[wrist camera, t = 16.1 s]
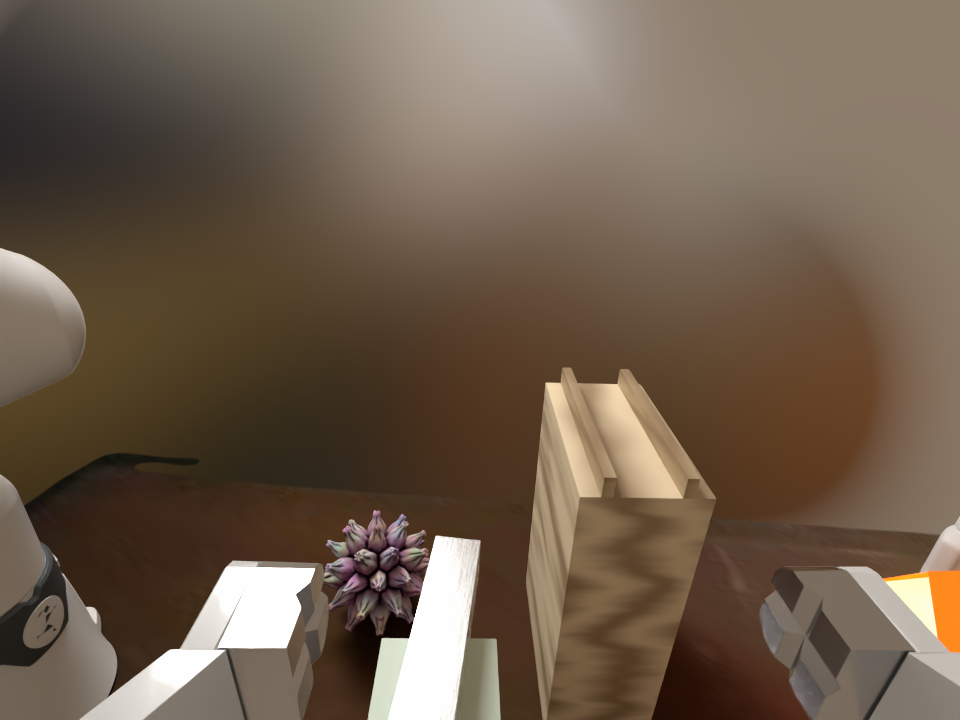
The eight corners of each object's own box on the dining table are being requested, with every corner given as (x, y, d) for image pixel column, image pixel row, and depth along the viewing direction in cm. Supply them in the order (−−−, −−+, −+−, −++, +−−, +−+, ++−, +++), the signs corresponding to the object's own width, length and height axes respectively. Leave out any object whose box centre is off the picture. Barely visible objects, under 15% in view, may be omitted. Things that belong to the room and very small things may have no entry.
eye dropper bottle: (976, 603, 57) (1028, 522, 52) (925, 599, 57) (972, 519, 52) (946, 572, 61) (992, 495, 56) (899, 569, 61) (940, 491, 56)
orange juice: (969, 784, 41) (1106, 616, 33) (867, 789, 40) (979, 619, 32) (892, 687, 48) (989, 529, 40) (805, 690, 48) (883, 530, 39)
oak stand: (544, 733, 43) (582, 477, 32) (525, 581, 58) (547, 367, 46) (647, 733, 44) (722, 479, 32) (602, 582, 58) (643, 369, 46)
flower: (399, 684, 47) (395, 594, 42) (299, 633, 51) (284, 545, 46) (455, 591, 56) (457, 508, 51) (367, 554, 61) (361, 475, 56)
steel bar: (406, 1092, 18) (315, 1073, 19) (479, 573, 40) (436, 568, 40) (403, 1063, 17) (304, 1043, 17) (480, 540, 39) (435, 535, 39)
